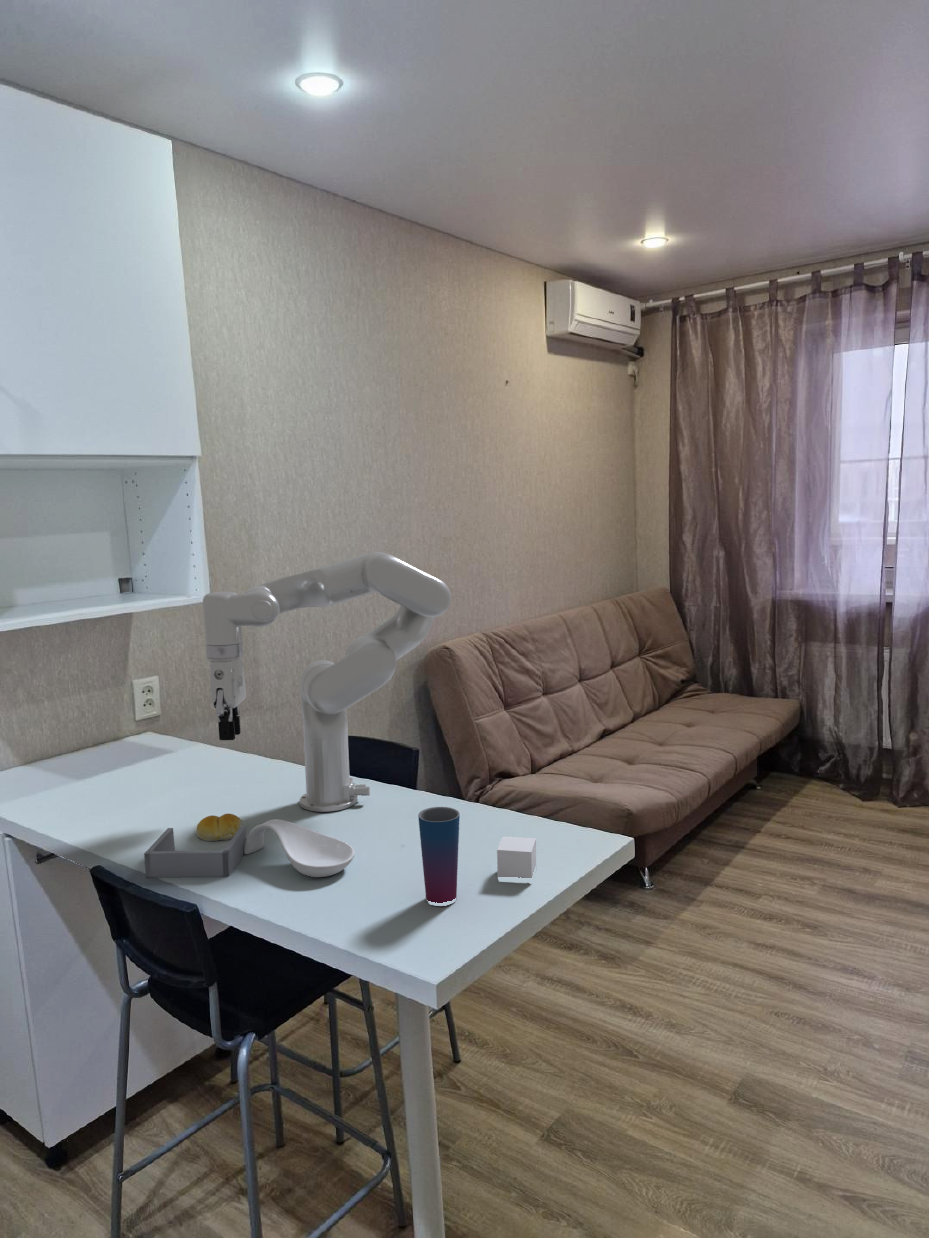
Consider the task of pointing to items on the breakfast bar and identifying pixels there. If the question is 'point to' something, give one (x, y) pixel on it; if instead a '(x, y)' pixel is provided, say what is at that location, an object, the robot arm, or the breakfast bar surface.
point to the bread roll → (218, 827)
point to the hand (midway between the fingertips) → (230, 736)
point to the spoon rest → (304, 848)
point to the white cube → (516, 857)
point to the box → (192, 858)
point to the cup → (439, 852)
